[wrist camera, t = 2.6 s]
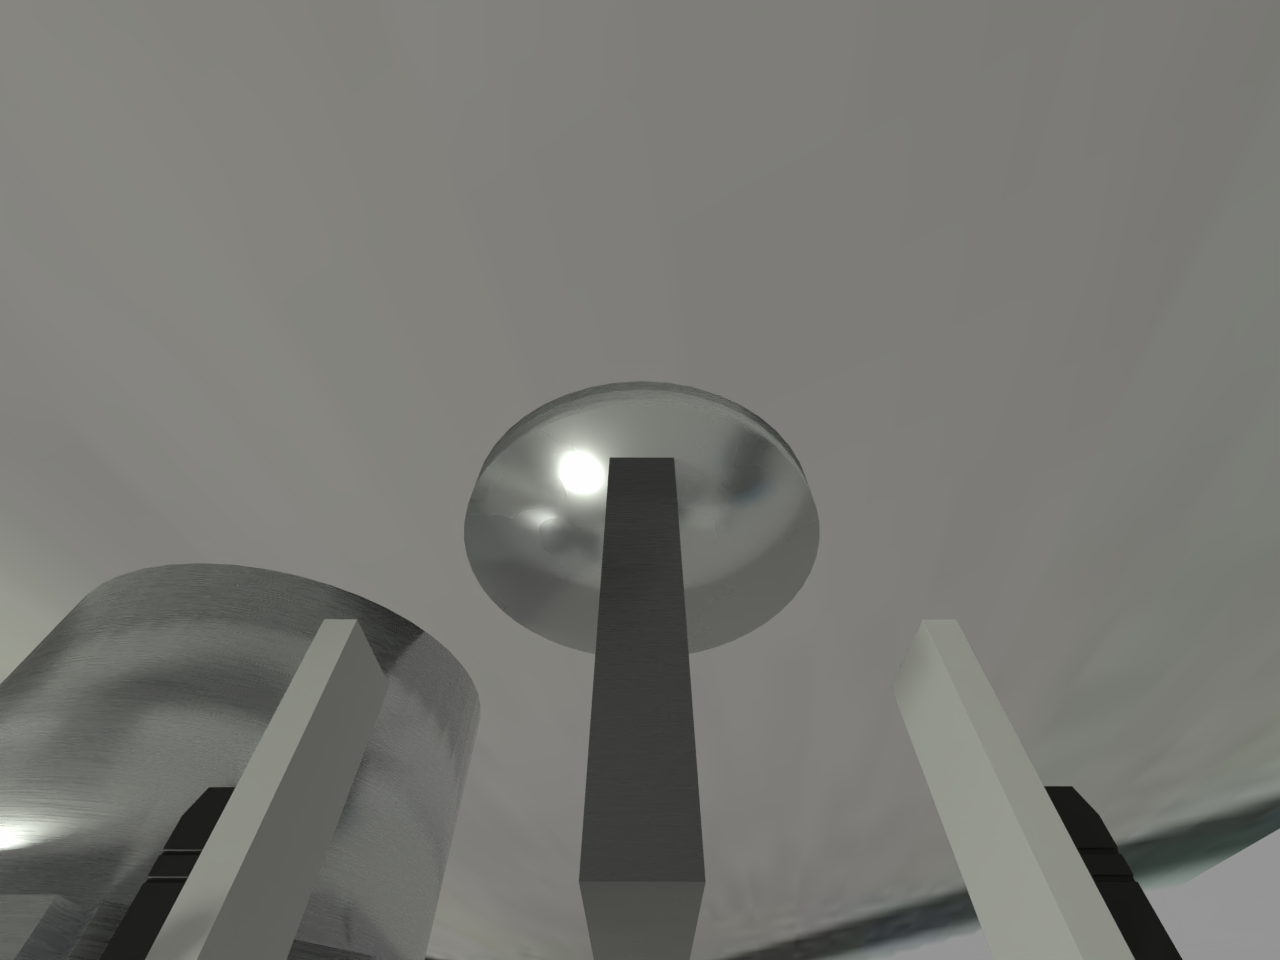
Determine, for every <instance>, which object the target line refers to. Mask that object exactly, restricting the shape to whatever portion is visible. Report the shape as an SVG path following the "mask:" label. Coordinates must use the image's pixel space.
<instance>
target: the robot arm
mask: <svg viewBox="0 0 1280 960" xmlns="http://www.w3.org/2000/svg"><path fill="white" fill-rule="evenodd" d="M388 688H389V684H388V682H387V680H386V678H385V676H384V674H383V672H382V669H381V667H380V665H379V663H378V661H377V659H376V657H375V655H374V653H373V651H372V649H371V647H370V645H369V643H368V641H367V639H366V637H365V635H364V633H363V630H362V628H361V626H360V624H359V622H358V620H357V619H324V620H323V622H322V624H321V626H320V628H319V630H318V632H317V634H316V636H315V637H314V639H313V641H312V643H311V645H310V647H309V649H308V651H307V653H306V655H305V657H304V658H303V660H302V662H301V664H300V666H299V668H298V670H297V672H296V674H295V676H294V677H293V679H292V681H291V683H290V685H289V687H288V689H287V691H286V693H285V695H284V696H283V698H282V700H281V702H280V704H279V706H278V708H277V710H276V712H275V714H274V715H273V717H272V719H271V721H270V723H269V725H268V727H267V729H266V731H265V733H264V734H263V736H262V738H261V740H260V742H259V744H258V746H257V748H256V750H255V752H254V753H253V755H252V757H251V759H250V761H249V763H248V765H247V767H246V769H245V771H244V772H243V774H242V776H241V778H240V780H239V782H238V784H237V786H236V787H209V788H208V789H207V790H206V791H205V792H204V793H203V794H202V795H201V796H200V797H199V798H198V799H197V800H196V801H195V802H194V804H193V805H192V806H191V807H190V808H189V809H188V810H187V811H186V812H185V813H184V814H183V815H182V816H181V818H180V820H179V822H178V823H177V825H176V827H175V829H174V830H173V832H172V834H171V836H170V837H169V839H168V841H167V843H166V844H165V846H164V848H163V853H162V854H161V855H159V857H158V858H157V860H156V862H155V863H154V865H153V867H152V869H151V870H150V872H149V874H148V879H147V881H146V882H145V883H143V884H142V886H141V888H140V890H139V891H138V893H137V895H136V897H135V898H134V900H133V902H132V903H131V905H130V907H129V909H128V910H127V912H126V914H125V916H124V917H123V919H122V921H121V923H120V924H119V926H118V928H117V930H116V931H115V933H114V935H113V937H112V938H111V940H110V942H109V943H108V945H107V947H106V949H105V950H104V952H103V954H102V956H101V957H100V959H99V960H286V959H287V957H288V954H289V951H290V949H291V946H292V943H293V941H294V938H295V935H296V933H297V930H298V927H299V925H300V922H301V919H302V917H303V914H304V911H305V909H306V906H307V903H308V901H309V898H310V895H311V893H312V890H313V887H314V885H315V882H316V880H317V877H318V874H319V872H320V869H321V866H322V864H323V861H324V858H325V856H326V853H327V850H328V848H329V845H330V842H331V840H332V837H333V834H334V832H335V829H336V826H337V824H338V821H339V818H340V816H341V813H342V810H343V808H344V805H345V802H346V800H347V797H348V794H349V792H350V789H351V786H352V784H353V781H354V778H355V776H356V773H357V770H358V768H359V765H360V762H361V760H362V757H363V754H364V752H365V749H366V746H367V744H368V741H369V739H370V736H371V733H372V731H373V728H374V725H375V723H376V720H377V717H378V715H379V712H380V709H381V707H382V704H383V701H384V699H385V696H386V693H387V691H388ZM891 688H892V691H893V693H894V696H895V699H896V701H897V704H898V707H899V709H900V712H901V715H902V717H903V720H904V723H905V725H906V728H907V731H908V733H909V736H910V739H911V741H912V744H913V746H914V749H915V752H916V754H917V757H918V760H919V762H920V765H921V768H922V770H923V773H924V776H925V778H926V781H927V784H928V786H929V789H930V792H931V794H932V797H933V800H934V802H935V805H936V808H937V810H938V813H939V816H940V818H941V821H942V824H943V826H944V829H945V832H946V834H947V837H948V840H949V842H950V845H951V848H952V850H953V853H954V856H955V858H956V861H957V864H958V866H959V869H960V872H961V874H962V877H963V880H964V882H965V885H966V887H967V890H968V893H969V895H970V898H971V901H972V903H973V906H974V909H975V911H976V914H977V917H978V919H979V922H980V925H981V927H982V930H983V933H984V935H985V938H986V941H987V943H988V946H989V949H990V951H991V954H992V957H993V959H994V960H1183V959H1182V958H1181V956H1180V954H1179V952H1178V951H1177V949H1176V947H1175V945H1174V944H1173V942H1172V940H1171V938H1170V937H1169V935H1168V933H1167V932H1166V930H1165V928H1164V926H1163V925H1162V923H1161V921H1160V919H1159V918H1158V916H1157V914H1156V912H1155V911H1154V909H1153V907H1152V906H1151V904H1150V902H1149V900H1148V899H1147V897H1146V895H1145V893H1144V892H1143V890H1142V888H1141V886H1140V885H1139V883H1138V882H1136V881H1135V880H1134V878H1133V875H1134V874H1133V873H1132V871H1131V869H1130V867H1129V866H1128V864H1127V862H1126V860H1125V859H1124V857H1123V855H1122V854H1120V853H1119V852H1118V847H1117V845H1116V843H1115V841H1114V840H1113V838H1112V836H1111V834H1110V833H1109V831H1108V829H1107V828H1106V826H1105V824H1104V822H1103V821H1102V819H1101V817H1100V815H1099V814H1098V813H1097V812H1096V811H1095V810H1094V809H1093V808H1092V807H1091V806H1090V805H1089V804H1088V803H1087V801H1086V800H1085V799H1084V798H1083V797H1082V796H1081V795H1080V794H1079V793H1078V792H1077V791H1076V790H1075V789H1074V788H1073V787H1072V786H1043V784H1042V782H1041V780H1040V778H1039V776H1038V774H1037V772H1036V771H1035V769H1034V767H1033V765H1032V763H1031V761H1030V759H1029V757H1028V755H1027V753H1026V752H1025V750H1024V748H1023V746H1022V744H1021V742H1020V740H1019V738H1018V736H1017V734H1016V733H1015V731H1014V729H1013V727H1012V725H1011V723H1010V721H1009V719H1008V717H1007V715H1006V714H1005V712H1004V710H1003V708H1002V706H1001V704H1000V702H999V700H998V698H997V696H996V695H995V693H994V691H993V689H992V687H991V685H990V683H989V681H988V679H987V677H986V676H985V674H984V672H983V670H982V668H981V666H980V664H979V662H978V660H977V658H976V657H975V655H974V653H973V651H972V649H971V647H970V645H969V643H968V641H967V639H966V638H965V636H964V634H963V632H962V630H961V628H960V626H959V624H958V622H957V620H956V619H923V620H922V622H921V624H920V626H919V628H918V630H917V633H916V635H915V637H914V639H913V641H912V643H911V645H910V647H909V649H908V651H907V653H906V655H905V657H904V659H903V661H902V663H901V665H900V667H899V669H898V672H897V674H896V676H895V678H894V680H893V682H892V684H891Z"/></svg>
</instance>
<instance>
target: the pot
mask: <svg viewBox="0 0 1280 960" xmlns="http://www.w3.org/2000/svg"><path fill="white" fill-rule="evenodd" d="M324 619H357V620H358V622H359V624H360V626H361V628H362V630H363V633H364V635H365V637H366V639H367V641H368V643H369V645H370V647H371V649H372V651H373V653H374V655H375V657H376V659H377V661H378V663H379V665H380V667H381V669H382V672H383V674H384V676H385V678H386V680H387V682H388V684H389V688H388V691H387V693H386V696H385V699H384V701H383V704H382V707H381V709H380V712H379V715H378V717H377V720H376V723H375V725H374V728H373V731H372V733H371V736H370V739H369V741H368V744H367V746H366V749H365V752H364V754H363V757H362V760H361V762H360V765H359V768H358V770H357V773H356V776H355V778H354V781H353V784H352V786H351V789H350V792H349V794H348V797H347V800H346V802H345V805H344V808H343V810H342V813H341V816H340V818H339V821H338V824H337V826H336V829H335V832H334V834H333V837H332V840H331V842H330V845H329V848H328V850H327V853H326V856H325V858H324V861H323V864H322V866H321V869H320V872H319V874H318V877H317V880H316V882H315V885H314V887H313V890H312V893H311V895H310V898H309V901H308V903H307V906H306V909H305V911H304V914H303V917H302V919H301V922H300V925H299V927H298V930H297V933H296V935H295V938H294V941H293V943H292V946H291V949H290V951H289V954H288V957H287V959H286V960H425V956H426V951H427V947H428V943H429V938H430V934H431V930H432V925H433V921H434V917H435V912H436V908H437V904H438V899H439V895H440V891H441V886H442V882H443V878H444V873H445V869H446V865H447V860H448V856H449V852H450V847H451V843H452V839H453V834H454V830H455V826H456V821H457V817H458V813H459V808H460V804H461V800H462V795H463V791H464V787H465V782H466V778H467V774H468V769H469V765H470V761H471V756H472V752H473V748H474V743H475V739H476V735H477V730H478V726H479V722H480V712H481V705H480V700H479V695H478V692H477V690H476V687H475V685H474V683H473V681H472V679H471V677H470V676H469V674H468V673H467V671H466V670H465V668H464V667H463V665H462V664H461V663H460V662H459V661H458V660H457V659H456V658H455V657H454V656H453V654H452V653H451V652H450V651H449V650H448V649H447V648H445V647H444V646H443V645H442V644H441V643H439V642H438V641H437V640H436V639H435V638H434V637H432V636H431V635H430V634H428V633H427V632H425V631H424V630H422V629H421V628H419V627H418V626H417V625H415V624H414V623H412V622H411V621H409V620H407V619H405V618H404V617H402V616H400V615H398V614H396V613H395V612H393V611H391V610H389V609H387V608H385V607H383V606H381V605H379V604H377V603H375V602H372V601H370V600H368V599H366V598H364V597H361V596H359V595H356V594H354V593H351V592H348V591H345V590H343V589H340V588H337V587H335V586H332V585H329V584H326V583H322V582H318V581H315V580H311V579H308V578H304V577H301V576H297V575H292V574H288V573H283V572H278V571H273V570H268V569H262V568H254V567H247V566H239V565H229V564H207V563H194V564H172V565H165V566H158V567H151V568H145V569H141V570H137V571H134V572H130V573H127V574H123V575H120V576H118V577H116V578H113V579H111V580H109V581H107V582H105V583H103V584H101V585H99V586H98V587H97V588H95V589H94V590H92V591H91V592H90V593H88V594H87V595H86V596H85V597H84V598H83V599H82V600H81V601H80V602H79V603H78V604H77V605H76V606H75V607H74V608H73V609H72V610H71V611H70V612H69V614H68V615H67V616H66V617H65V618H64V619H63V620H62V621H61V622H60V623H59V624H58V625H57V626H56V627H55V628H54V629H53V630H52V631H51V632H50V633H49V634H48V635H47V636H46V637H45V638H44V639H43V640H42V642H41V643H40V644H39V645H38V646H37V647H36V648H35V649H34V650H33V651H32V652H31V653H30V654H29V655H28V656H27V657H26V658H25V659H24V660H23V661H22V662H21V663H20V664H19V665H18V666H17V667H16V669H15V670H14V671H13V672H12V673H11V674H10V675H9V676H8V677H7V678H6V679H5V680H4V681H3V682H2V683H1V684H0V960H99V959H100V957H101V956H102V954H103V952H104V950H105V949H106V947H107V945H108V943H109V942H110V940H111V938H112V937H113V935H114V933H115V931H116V930H117V928H118V926H119V924H120V923H121V921H122V919H123V917H124V916H125V914H126V912H127V910H128V909H129V907H130V905H131V903H132V902H133V900H134V898H135V897H136V895H137V893H138V891H139V890H140V888H141V886H142V884H143V883H145V882H146V881H147V879H148V874H149V872H150V870H151V869H152V867H153V865H154V863H155V862H156V860H157V858H158V857H159V855H161V854H162V853H163V848H164V846H165V844H166V843H167V841H168V839H169V837H170V836H171V834H172V832H173V830H174V829H175V827H176V825H177V823H178V822H179V820H180V818H181V816H182V815H183V814H184V813H185V812H186V811H187V810H188V809H189V808H190V807H191V806H192V805H193V804H194V802H195V801H196V800H197V799H198V798H199V797H200V796H201V795H202V794H203V793H204V792H205V791H206V790H207V789H208V788H209V787H236V786H237V784H238V782H239V780H240V778H241V776H242V774H243V772H244V771H245V769H246V767H247V765H248V763H249V761H250V759H251V757H252V755H253V753H254V752H255V750H256V748H257V746H258V744H259V742H260V740H261V738H262V736H263V734H264V733H265V731H266V729H267V727H268V725H269V723H270V721H271V719H272V717H273V715H274V714H275V712H276V710H277V708H278V706H279V704H280V702H281V700H282V698H283V696H284V695H285V693H286V691H287V689H288V687H289V685H290V683H291V681H292V679H293V677H294V676H295V674H296V672H297V670H298V668H299V666H300V664H301V662H302V660H303V658H304V657H305V655H306V653H307V651H308V649H309V647H310V645H311V643H312V641H313V639H314V637H315V636H316V634H317V632H318V630H319V628H320V626H321V624H322V622H323V620H324Z"/></svg>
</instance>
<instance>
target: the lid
mask: <svg viewBox="0 0 1280 960" xmlns="http://www.w3.org/2000/svg"><path fill="white" fill-rule="evenodd" d="M819 540H820V538H819V518H818V513H817V508H816V504H815V502H814V499H813V496H812V493H811V491H810V488H809V485H808V482H807V479H806V477H805V474H804V472H803V469H802V467H801V464H800V462H799V460H798V459H797V457H796V456H795V454H794V452H793V451H792V449H791V447H790V446H789V445H788V444H787V442H786V441H785V440H784V439H783V438H782V437H781V436H780V434H779V433H778V432H777V431H776V430H775V429H774V428H772V427H771V426H770V425H769V424H768V423H766V422H765V421H764V420H763V419H762V418H760V417H759V416H758V415H756V414H754V413H753V412H751V411H749V410H748V409H746V408H745V407H743V406H741V405H740V404H737V403H735V402H733V401H731V400H729V399H726V398H724V397H722V396H720V395H717V394H714V393H711V392H707V391H704V390H701V389H698V388H694V387H689V386H684V385H678V384H672V383H663V382H647V381H637V382H620V383H611V384H606V385H600V386H594V387H589V388H586V389H583V390H579V391H576V392H573V393H569V394H566V395H564V396H562V397H559V398H557V399H555V400H553V401H550V402H548V403H546V404H544V405H542V406H540V407H539V408H537V409H536V410H534V411H532V412H531V413H529V414H527V415H526V416H524V417H523V418H522V419H521V420H519V421H518V422H517V423H516V424H515V425H513V426H512V427H511V428H510V429H509V430H507V432H506V433H505V434H504V435H503V436H502V437H501V438H500V440H499V441H498V442H497V443H496V444H495V445H494V447H493V448H492V450H491V452H490V453H489V455H488V456H487V458H486V460H485V461H484V463H483V466H482V468H481V471H480V473H479V476H478V478H477V481H476V484H475V486H474V489H473V492H472V495H471V498H470V500H469V503H468V506H467V511H466V516H465V521H464V542H465V548H466V554H467V557H468V560H469V563H470V566H471V569H472V571H473V573H474V575H475V577H476V578H477V580H478V582H479V584H480V586H481V587H482V588H483V590H484V591H485V592H486V594H487V595H488V596H489V597H490V599H491V600H492V601H493V602H494V603H495V604H496V605H497V606H498V607H499V608H500V609H501V610H502V611H503V612H504V613H506V614H507V615H508V616H510V617H511V618H512V619H513V620H515V621H516V622H517V623H519V624H520V625H522V626H524V627H525V628H527V629H528V630H530V631H532V632H534V633H536V634H538V635H540V636H542V637H544V638H546V639H548V640H550V641H553V642H555V643H558V644H561V645H563V646H566V647H569V648H573V649H576V650H580V651H583V652H587V653H592V654H595V665H594V679H593V693H592V707H591V720H590V734H589V748H588V762H587V775H586V789H585V803H584V817H583V830H582V844H581V858H580V872H579V885H580V891H581V896H582V901H583V906H584V911H585V917H586V922H587V927H588V932H589V937H590V942H591V948H592V953H593V958H594V960H690V955H691V950H692V946H693V941H694V936H695V931H696V926H697V921H698V916H699V912H700V907H701V902H702V897H703V892H704V887H705V883H706V880H705V867H704V853H703V840H702V826H701V813H700V799H699V786H698V772H697V759H696V745H695V732H694V718H693V705H692V691H691V678H690V665H689V654H691V653H696V652H701V651H704V650H708V649H711V648H715V647H718V646H720V645H723V644H726V643H728V642H731V641H734V640H736V639H738V638H740V637H742V636H744V635H746V634H748V633H750V632H752V631H753V630H755V629H757V628H758V627H760V626H762V625H763V624H765V623H766V622H768V621H769V620H770V619H772V618H773V617H774V616H775V615H777V614H778V613H779V612H780V611H781V610H782V609H783V608H784V607H785V606H786V605H787V604H788V603H790V602H791V601H792V599H793V598H794V597H795V596H796V594H797V593H798V592H799V590H800V589H801V588H802V587H803V585H804V583H805V581H806V580H807V578H808V576H809V574H810V572H811V570H812V567H813V565H814V562H815V559H816V556H817V551H818V546H819Z"/></svg>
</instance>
